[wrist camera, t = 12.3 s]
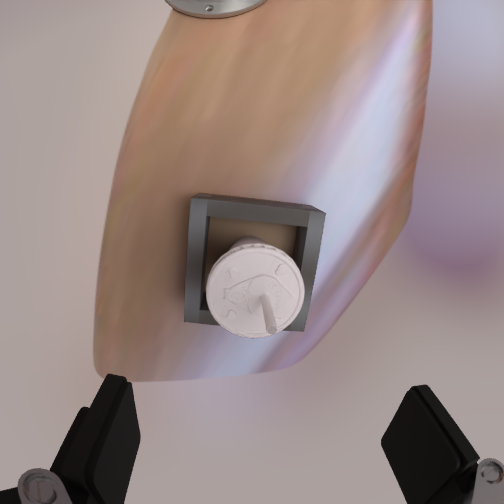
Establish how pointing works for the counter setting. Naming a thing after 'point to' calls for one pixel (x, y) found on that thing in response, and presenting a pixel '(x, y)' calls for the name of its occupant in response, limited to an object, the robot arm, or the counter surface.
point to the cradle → (248, 224)
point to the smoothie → (254, 289)
